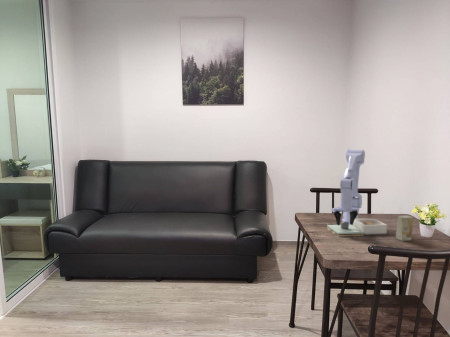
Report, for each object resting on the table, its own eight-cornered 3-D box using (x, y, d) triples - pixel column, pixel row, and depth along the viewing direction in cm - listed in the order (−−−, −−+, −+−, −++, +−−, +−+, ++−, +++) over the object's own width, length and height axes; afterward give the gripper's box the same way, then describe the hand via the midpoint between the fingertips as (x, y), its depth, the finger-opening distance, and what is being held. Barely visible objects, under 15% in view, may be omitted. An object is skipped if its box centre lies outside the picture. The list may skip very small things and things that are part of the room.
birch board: (326, 228, 198) (326, 227, 198) (349, 227, 200) (349, 226, 200) (338, 236, 183) (338, 235, 183) (363, 235, 185) (363, 234, 185)
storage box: (352, 227, 200) (352, 219, 199) (373, 226, 202) (373, 218, 201) (364, 234, 187) (364, 225, 186) (386, 233, 189) (387, 224, 188)
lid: (327, 227, 197) (327, 218, 197) (350, 226, 199) (351, 218, 198) (337, 235, 184) (338, 226, 183) (362, 234, 185) (363, 225, 185)
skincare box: (401, 241, 177) (403, 217, 175) (395, 238, 181) (397, 215, 180) (412, 240, 179) (413, 217, 177) (405, 237, 183) (407, 214, 181)
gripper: (336, 202, 184) (335, 227, 186) (362, 201, 186) (360, 226, 188) (331, 199, 191) (329, 223, 193) (355, 198, 193) (354, 222, 195)
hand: (344, 224), depth 191 cm, fingers open, 7 cm apart
